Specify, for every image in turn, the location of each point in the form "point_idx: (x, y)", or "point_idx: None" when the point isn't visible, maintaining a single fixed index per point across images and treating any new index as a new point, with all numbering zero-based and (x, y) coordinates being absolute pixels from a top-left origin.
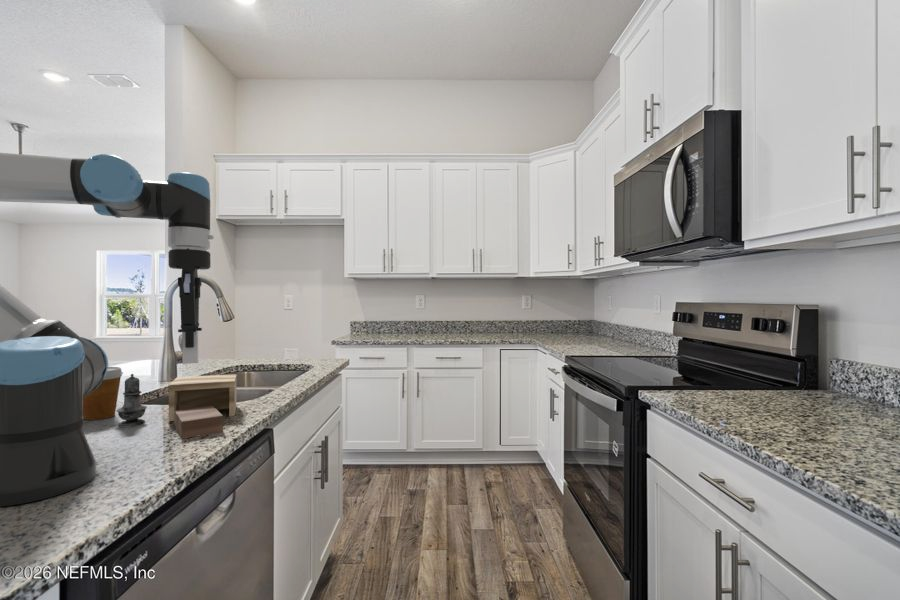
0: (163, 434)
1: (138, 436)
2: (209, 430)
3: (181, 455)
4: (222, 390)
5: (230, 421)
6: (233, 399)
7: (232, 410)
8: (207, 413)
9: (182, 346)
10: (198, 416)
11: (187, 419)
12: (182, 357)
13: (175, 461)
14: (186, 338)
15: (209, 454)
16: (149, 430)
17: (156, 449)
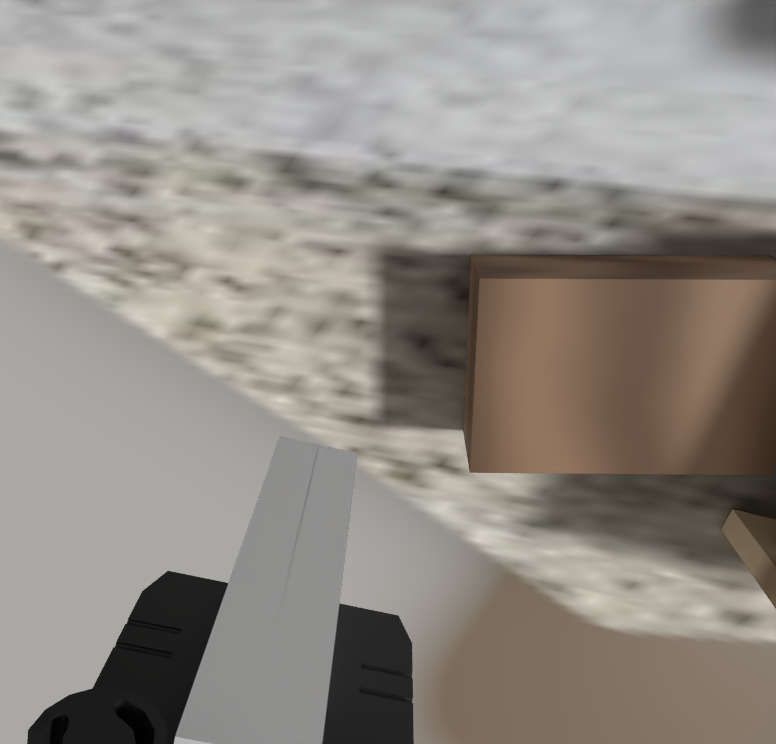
0: (618, 184)
1: (677, 59)
2: (466, 382)
3: (179, 217)
4: None
5: (630, 494)
6: (767, 586)
7: (739, 541)
8: (579, 419)
9: (240, 557)
10: (540, 370)
11: (512, 311)
12: (268, 473)
13: (102, 183)
14: (104, 683)
15: (130, 319)
16: (769, 124)
17: (348, 125)
